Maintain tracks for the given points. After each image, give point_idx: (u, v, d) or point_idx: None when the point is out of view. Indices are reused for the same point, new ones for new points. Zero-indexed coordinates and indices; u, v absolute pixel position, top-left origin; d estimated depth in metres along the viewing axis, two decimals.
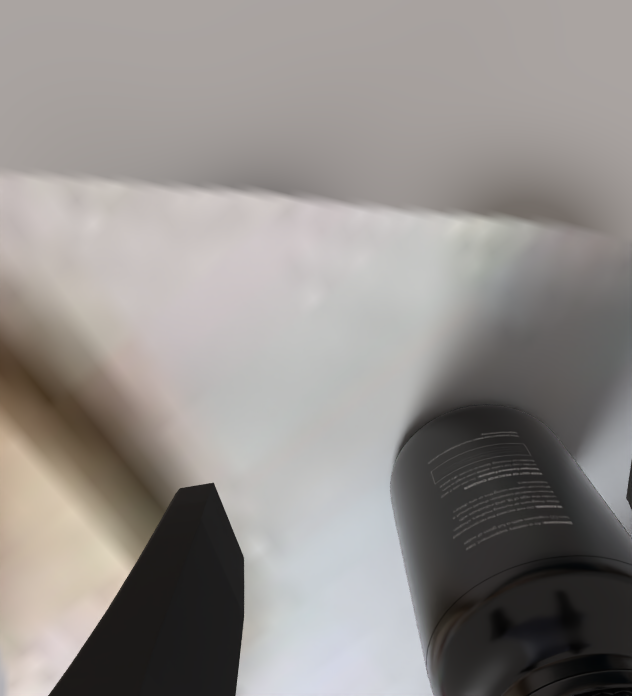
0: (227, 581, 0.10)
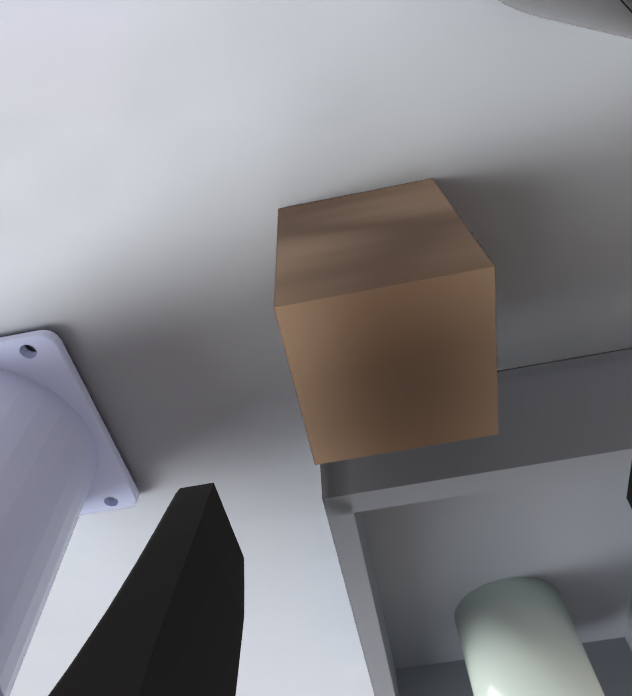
0: (227, 581, 0.10)
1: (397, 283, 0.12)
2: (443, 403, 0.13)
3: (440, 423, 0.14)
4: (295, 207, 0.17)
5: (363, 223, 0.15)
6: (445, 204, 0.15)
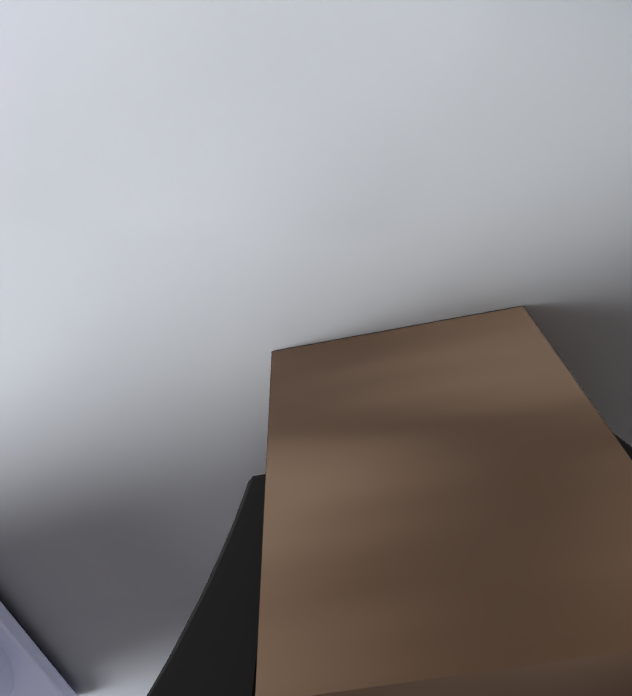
0: None
1: (530, 659, 0.05)
2: None
3: None
4: (299, 352, 0.10)
5: (420, 416, 0.08)
6: (567, 383, 0.08)
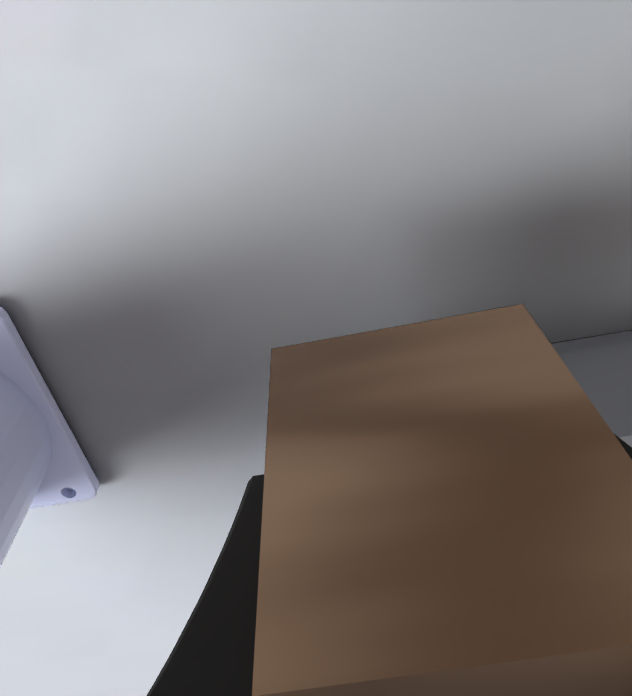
0: None
1: (527, 654, 0.05)
2: None
3: None
4: (297, 349, 0.10)
5: (419, 412, 0.08)
6: (565, 380, 0.08)
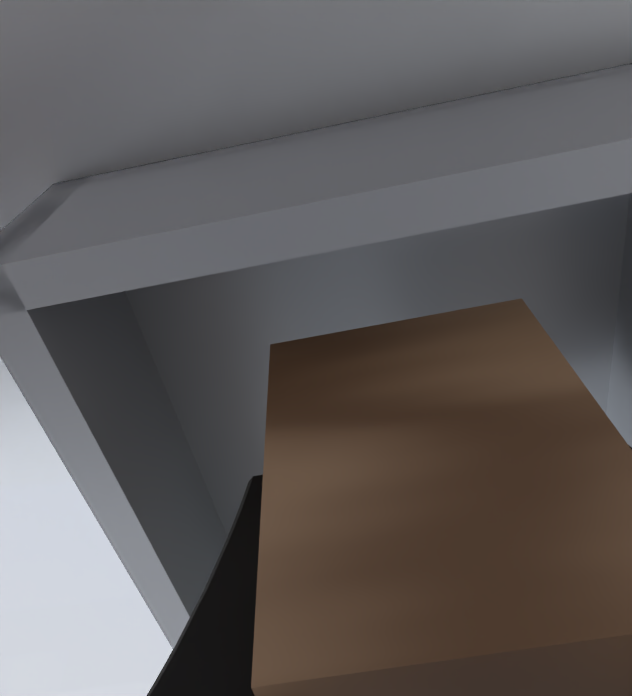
0: None
1: (527, 643, 0.05)
2: None
3: None
4: (297, 345, 0.10)
5: (419, 406, 0.08)
6: (565, 374, 0.08)
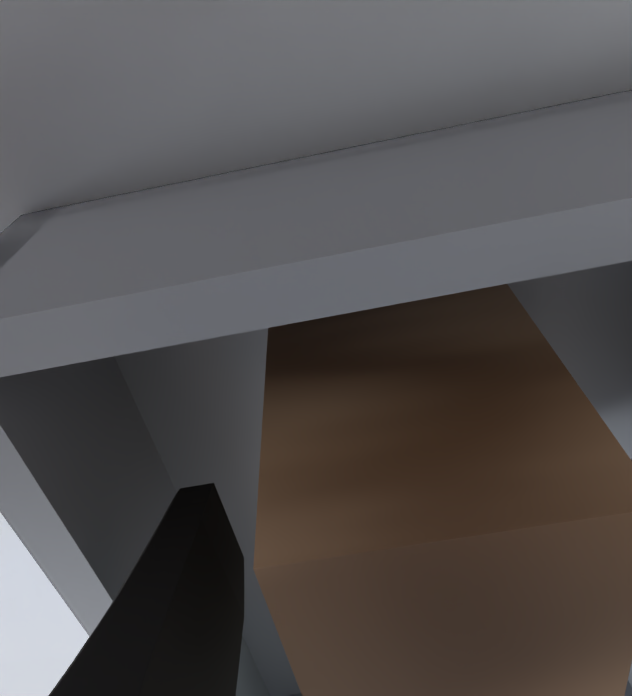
0: (227, 581, 0.10)
1: (482, 531, 0.06)
2: (538, 679, 0.08)
3: None
4: None
5: (400, 356, 0.09)
6: (529, 328, 0.09)
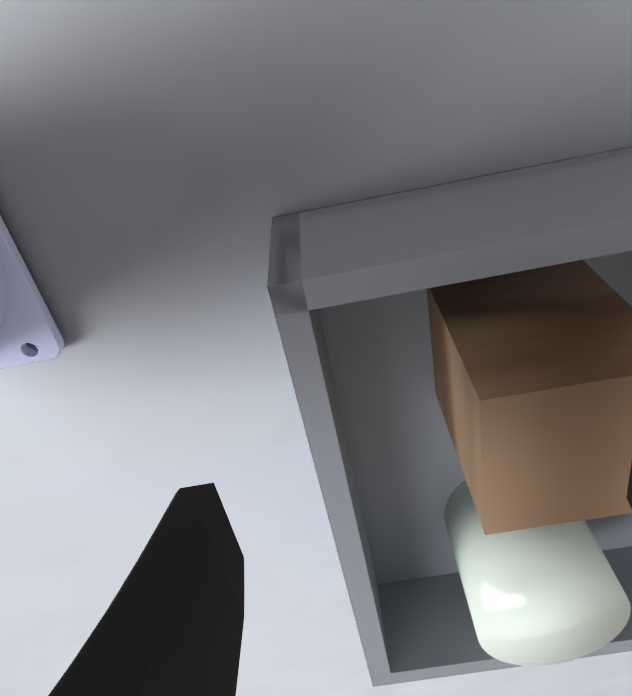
0: (227, 581, 0.10)
1: (598, 379, 0.12)
2: (617, 482, 0.14)
3: (610, 499, 0.14)
4: None
5: (527, 303, 0.15)
6: (605, 286, 0.15)
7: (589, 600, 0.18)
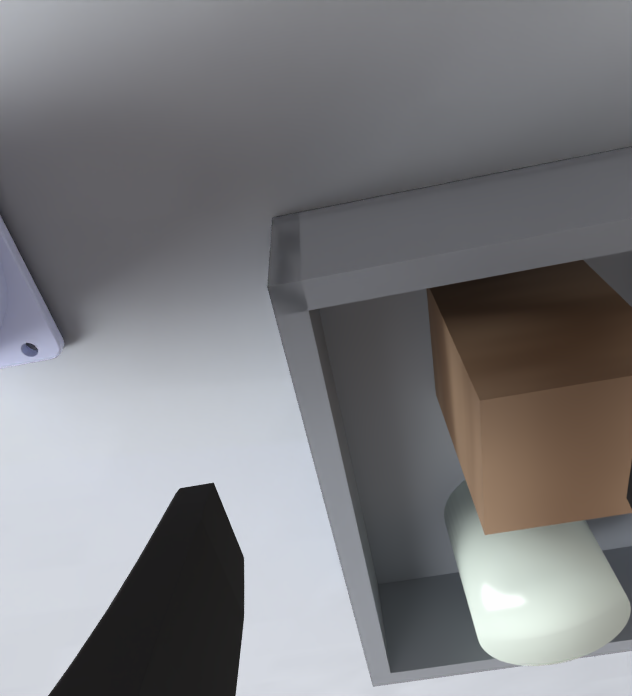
0: (227, 581, 0.10)
1: (598, 379, 0.12)
2: (617, 481, 0.14)
3: (610, 499, 0.14)
4: None
5: (527, 303, 0.15)
6: (605, 286, 0.15)
7: (589, 600, 0.18)
